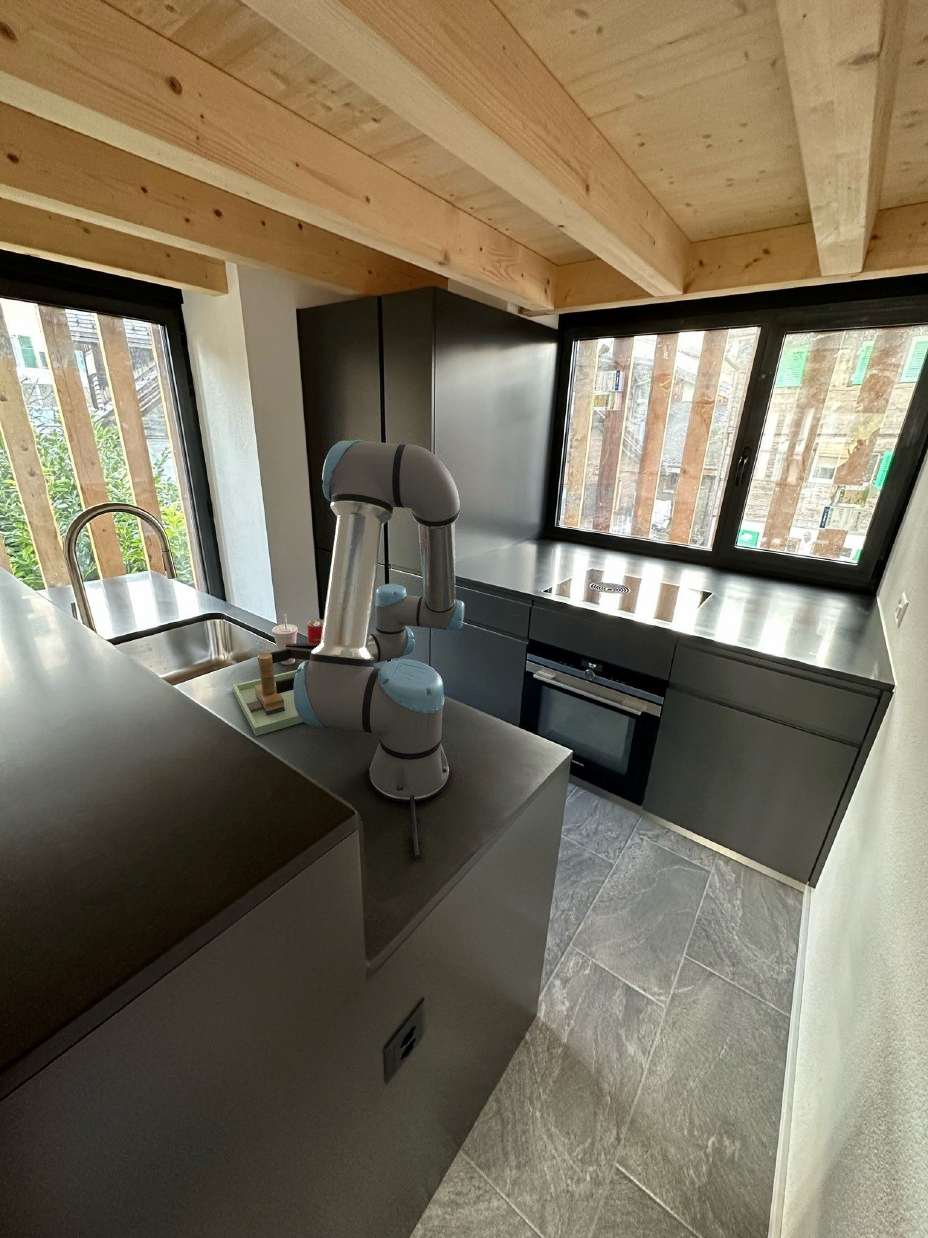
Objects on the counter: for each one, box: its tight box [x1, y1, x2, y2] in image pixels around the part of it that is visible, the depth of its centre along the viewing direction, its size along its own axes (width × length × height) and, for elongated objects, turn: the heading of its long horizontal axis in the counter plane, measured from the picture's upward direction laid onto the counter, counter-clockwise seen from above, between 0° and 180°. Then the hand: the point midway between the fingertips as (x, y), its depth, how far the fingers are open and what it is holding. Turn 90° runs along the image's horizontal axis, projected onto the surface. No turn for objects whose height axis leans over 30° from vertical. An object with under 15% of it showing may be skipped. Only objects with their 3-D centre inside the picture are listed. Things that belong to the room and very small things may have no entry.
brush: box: [255, 652, 285, 716], centre depth 116 cm, size 9×4×12 cm, turn 35°
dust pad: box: [247, 700, 263, 712], centre depth 116 cm, size 3×3×1 cm
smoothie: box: [271, 613, 299, 666], centre depth 135 cm, size 6×6×14 cm
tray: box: [232, 669, 304, 737], centre depth 120 cm, size 20×17×2 cm
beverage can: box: [306, 618, 324, 643], centre depth 136 cm, size 5×5×12 cm
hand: (266, 673), depth 115 cm, fingers open, 13 cm apart
